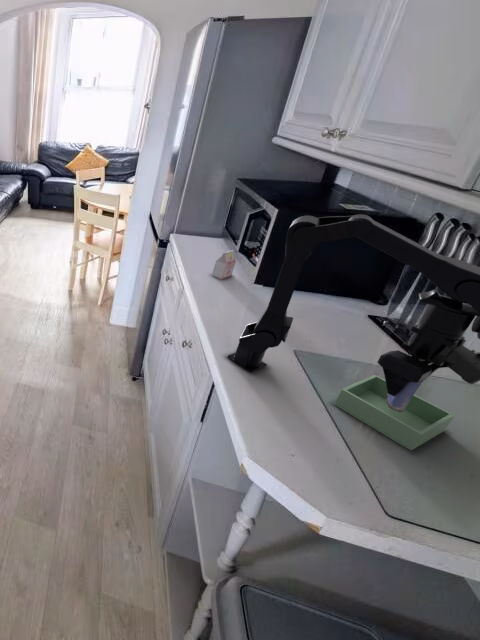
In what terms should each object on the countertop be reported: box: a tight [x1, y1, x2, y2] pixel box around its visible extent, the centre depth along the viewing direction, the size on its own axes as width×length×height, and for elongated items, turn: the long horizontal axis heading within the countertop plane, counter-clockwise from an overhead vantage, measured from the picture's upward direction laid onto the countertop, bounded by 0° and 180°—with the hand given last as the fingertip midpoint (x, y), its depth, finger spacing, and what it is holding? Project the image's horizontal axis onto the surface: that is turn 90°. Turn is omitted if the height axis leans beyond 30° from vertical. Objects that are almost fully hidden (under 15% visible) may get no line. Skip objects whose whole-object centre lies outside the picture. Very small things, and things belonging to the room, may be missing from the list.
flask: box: [387, 380, 425, 413], centre depth 82 cm, size 9×3×11 cm, turn 129°
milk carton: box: [211, 249, 237, 280], centre depth 147 cm, size 4×7×10 cm, turn 120°
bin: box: [333, 374, 456, 451], centre depth 85 cm, size 13×13×4 cm
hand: (402, 389), depth 83 cm, fingers closed on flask, 9 cm apart
